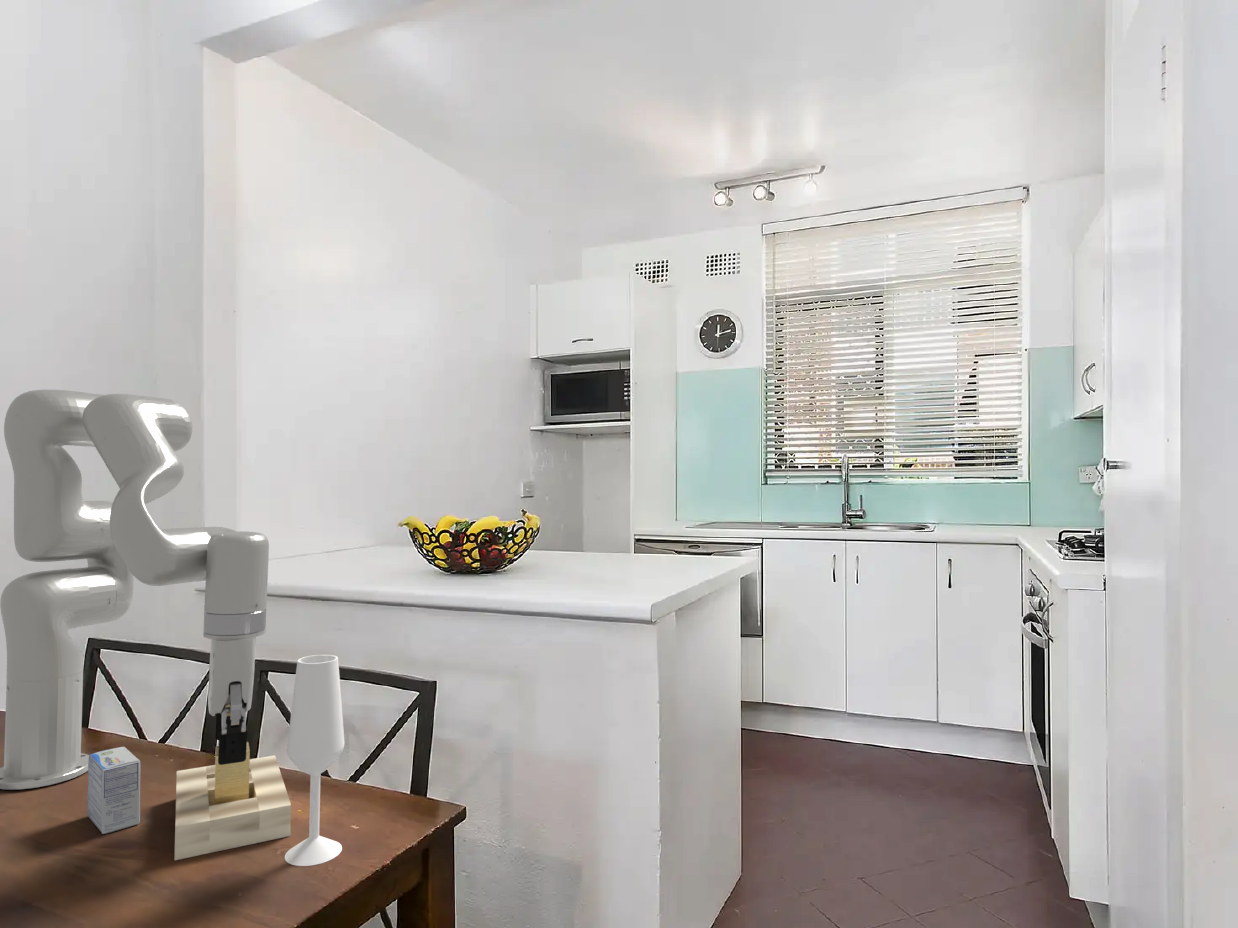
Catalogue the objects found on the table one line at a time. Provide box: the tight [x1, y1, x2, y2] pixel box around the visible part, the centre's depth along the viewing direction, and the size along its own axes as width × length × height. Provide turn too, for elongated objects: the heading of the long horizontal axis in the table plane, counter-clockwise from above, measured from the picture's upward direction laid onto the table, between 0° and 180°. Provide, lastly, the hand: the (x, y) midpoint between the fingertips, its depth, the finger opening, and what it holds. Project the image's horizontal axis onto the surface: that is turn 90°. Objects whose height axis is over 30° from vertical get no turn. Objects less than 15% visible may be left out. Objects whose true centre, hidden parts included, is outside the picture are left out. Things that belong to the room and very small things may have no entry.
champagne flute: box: [284, 654, 345, 867], centre depth 93 cm, size 7×7×24 cm
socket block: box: [174, 755, 292, 861], centre depth 102 cm, size 20×13×4 cm, turn 30°
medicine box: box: [87, 746, 141, 835], centre depth 101 cm, size 8×4×9 cm, turn 47°
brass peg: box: [214, 741, 251, 805], centre depth 100 cm, size 4×4×10 cm
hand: (230, 749), depth 101 cm, fingers open, 9 cm apart
